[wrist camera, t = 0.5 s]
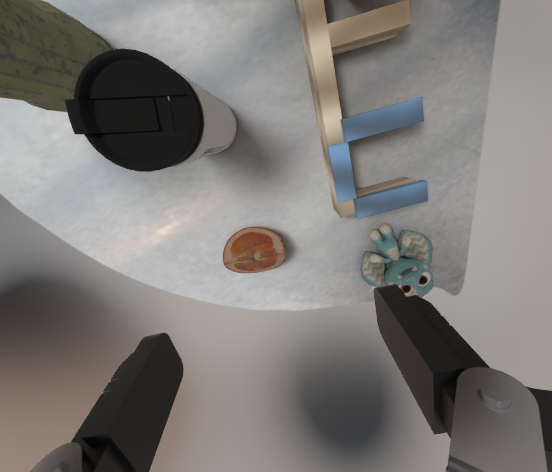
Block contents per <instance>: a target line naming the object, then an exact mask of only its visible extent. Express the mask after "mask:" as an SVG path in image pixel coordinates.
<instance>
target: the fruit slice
mask: <svg viewBox="0 0 552 472" xmlns="http://www.w3.org/2000/svg"><path fill="white" fill-rule="evenodd" d="M284 248H285V246H284V244H283V241H282V239H281V237H280V236H279V235H277V234H276V233H274V232H272V231H271V230H268V229H265V228H259V227H249V228H245V229H242V230H240V231H238V232H236V233H235V234H234V235H233V236H232V237H231V238H230V239H229V240H228V241H227V243H226V245H225V248H224V252H223V263H224V265H225V266H226V268H228V269H229V270H232V271H234V272H238V273H256V272H262V271H267V270H270V269H273V268H276V267H278V266H279V265H281V264H282V262H283V261H284V260H285V257H286V251H285V249H284Z"/></svg>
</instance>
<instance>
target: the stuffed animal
mask: <svg viewBox="0 0 552 472" xmlns="http://www.w3.org/2000/svg"><path fill="white" fill-rule="evenodd" d="M379 230H380V232H381V233H382V235H383V236H384V237H385V238H386V239H385V240H382V238H381V235H380V233H379V231H378V230H372V231H371V232H370V233H369V237H370V239H371V240H372V242H374V243H375V244H376V245H377V246H378V249H379V251H380V252H381V253H382V254H383V255H385V256H386V258H384V257H382V256H380V255H379V254H375V253H371V252H368V251H366V252H365V254H364V256H363V260H362V265H361V273H362V278H363V279H364V280H365V281H366V282H367V283H368V284H370V285H373V286H375V287H377V288H378V287H382V286H387V285H392V284H397V285H398V286H399V288H400V289H401V290H402V291H403V293H404V294H405V295H406V296H412V295H417V296H419V297H421V298H422V297H423V296H424V295H425V294H427V293H428V292H429V291H430V290H431V289H432V288H433V285H434V284H433V278H432V273H431V271H430V269H431V257H432V244H431V241H430V240H429V239H428V238H426V237H425V236H424V235H423V234H419V233H416V232H412V231H401V234H400V237H399V241H398V243H397V241H396V239H395V238H394V237H393V233H392V230H391V228H390V226H389V225H388V224H382V225H381V226H380V227H379ZM400 256H404V257H406V258H401V257H400ZM390 262H392V263H391V265H390V266H389V268H388V269H387V270H386V263H390Z"/></svg>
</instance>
